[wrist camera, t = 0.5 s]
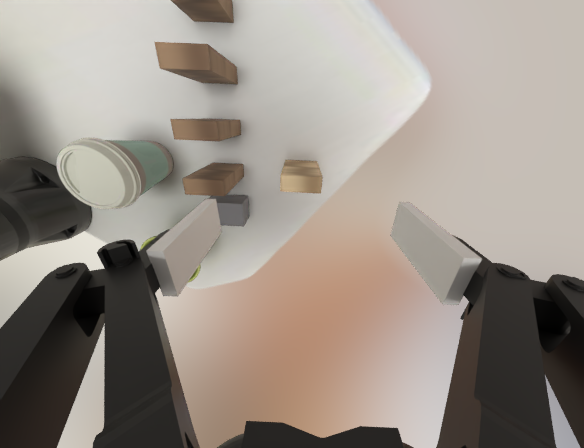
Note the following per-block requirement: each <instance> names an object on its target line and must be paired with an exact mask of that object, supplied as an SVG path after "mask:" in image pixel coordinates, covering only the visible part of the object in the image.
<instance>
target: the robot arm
mask: <svg viewBox="0 0 584 448" xmlns="http://www.w3.org/2000/svg"><path fill="white" fill-rule="evenodd" d="M90 221H91V209H90V206H89V205H87V204H85V203H83V202H82V201H80V200H79V199H77V198H76V197H75V196H74V195H72V194H71V193H70V192H69V191H68V189H67V188H66V187H65V186H64V184H63V183H62V181H61V179H60V177H59V174H58V171H57V168H56V167H55V166H53V165H51V164H49V163H47V162H44V161H42V160H39V159H35V158H30V157H17V158H10V159H4V160H0V261H1V260H3V259H5V258H7V257H9V256H11V255H13V254H15V253H17V252H19V251H21V250H24V249H26V248H28V247H34V246H38V245H43V244H48V243H52V242H57V241H62V240H66V239H69V238H72V237H74V236H75V235H78V234H79V233H81V232H83V231H85V230H86V229H87V227H88V226H89V224H90ZM221 232H222V231H221V225H220V219H219V214H218V208H217V202H216V199H205V200H204V201H203V202H201V203H200V204H199V205H198V206H197V207H196V208H195V209H193V210H192V211H191V212H190V213H189V214H188V215H187V216H185V217H184V218H183V219H182V220H181V221H180V222H179V223H177V224H176V225H175V226H174V227H173V228H172V229H168V230H166V231H164V232H162V233H160V234H159V235H158V236H157V237H156V238H154V239H153V240H152V241H151V242H150V243H149V244H147V245H146V246H145V247H144V248H142V249H141V250H140V251H139V252H138V249H137V247H136V244H135V242H134V241H132V240H120V241H115V242H112V243H109V244H107V245H105V246H103V247H102V248H100V249H99V250H98V252H97V254H98V256H99V258H100V260H101V262H102V264H103V265H104V268H105V269H100V270H94V271H89V269H88V267H87V265H85V264H84V263H73V264H69V265H64V266H62V267H59V268H57V269H56V270H54V271H52V272H50V273H49V274H48V275H47V276H45V277H44V279H43V280H42V281H41V282H40V283H39V285H38V286H37V287H36V288H35V289H34V290H33V292H32V293H31V294H30V295H29V296H28V297H27V298H26V300H25V301H24V302H23V303H22V304H21V305H20V307H19V308H18V309H17V310H16V311H15V312H14V314H13V315H12V316H11V317H10V318H9V319H8V320H7V321H6V323H5V324H4V325H3V326H2V327H1V329H0V448H57V445H58V442H59V440H60V437H61V435H62V432H63V430H64V427H65V424H66V422H67V419H68V416H69V414H70V411H71V408H72V406H73V403H74V401H75V398H76V396H77V393H78V391H79V388H80V385H81V383H82V380H83V378H84V375H85V372H86V370H87V367H88V365H89V362H90V359H91V357H92V354H93V352H94V349H95V346H96V344H97V341H98V339H99V336H100V333H101V330H102V328H103V325H104V323H105V391H104V400H105V402H104V406H105V407H104V429H103V431H102V432H101V433H99V434H98V435H96V437H95V440H94V442H93V448H200V447H199V444H198V441H197V438H196V435H195V432H194V429H193V425H192V422H191V418H190V414H189V411H188V407H187V404H186V400H185V397H184V393H183V390H182V386H181V383H180V379H179V376H178V372H177V368H176V365H175V361H174V357H173V354H172V351H171V347H170V343H169V340H168V336H167V333H166V329H165V326H164V322H163V318H162V315H161V311H160V308H159V304H158V301H157V298H156V295H155V292H156V291H157V290H158V289H159V288H160V289H161V292H162V294H163V296H179V294H180V293H181V291H182V290H183V288H184V287H185V285H186V284H187V282H188V281H189V279H190V278H191V277H192V275H193V274H194V272H195V271H196V269H197V268H198V266H199V265H200V263H201V262H202V260H203V259H204V257H205V256H206V254H207V253H208V251H209V250H210V249H211V247H212V246H213V244H214V243H215V241H216V240H217V238H218V237H219V235H220V234H221ZM391 237H392V238H393V239H394V241H395V242H396V244H397V245H398V246H399V247H400V249H401V250H402V252H403V253H404V254H405V256H406V257H407V258H408V259H409V261H410V262H411V263H412V265H413V266H414V267H415V269H416V270H417V271H418V272H419V274H420V275H421V277H422V278H423V279H424V281H425V282H426V283H427V285H428V286H429V287H430V289H431V290H432V291H433V292H434V294H435V295H436V296H437V298H438V299H439V300H440V302H441V303H442V304H447V305H459V303H460V301H461V299H462V297H463V295H464V296H465V297H466V298H467V299H468V301H469V303H468V305H467V307H466V309H465V311H464V312H463V314H462V316H461V319H462V320H463V319H464V320H463V325H462V330H461V335H460V340H459V345H458V349H457V354H456V359H455V364H454V369H453V373H452V378H451V383H450V388H449V393H448V398H447V402H446V407H445V413H444V417H443V422H442V427H441V432H440V437H439V441H438V444H437V447H436V448H556V444H555V440H554V432H553V426H552V420H551V413H550V407H549V399H548V393H547V386H546V380H545V375H546V377H547V379H548V381H549V383H550V385H551V388H552V390H553V391H554V394H555V396H556V398H557V400H558V402H559V404H560V406H561V408H562V410H563V412H564V414H565V416H566V418H567V420H568V422H569V425H570V427H571V429H572V431H573V433H574V435H575V437H576V439H577V441H578V443H579V445H580V447H581V448H584V281H583V280H579V279H578V278H575V277H569V276H565V275H559V274H557V275H552V276H551V277H550V279H549V280H548V281H547V283H544V282H539V281H534V280H530V278H529V277H528V276H527V275H526V274H525V273H523V272H522V271H520V270H518V269H516V268H514V267H511V266H508V265H505V264H500V263H492V262H491V261H489V260H488V259H487V258H485V257H484V256H483V255H481V254H480V253H479V252H478V251H476V250H475V249H473V248H472V247H471V246H469V245H468V244H467V243H466V242H464V241H463V240H462V239H460V238H458V237H455V236H453V235H451V234H450V233H449V232H447V231H446V230H445V229H443V228H442V227H441V226H440V225H438V224H437V223H436V222H435V221H433V220H432V219H431V218H429V217H428V216H427V215H425V214H424V213H423V212H422V211H420V210H419V209H418V208H417V207H415V206H414V205H413V204H411V203H410V202H399V204H398V208H397V212H396V216H395V220H394V224H393V228H392V232H391ZM217 448H413V447H411V446H409V445H407V444H405V443H403V442H402V440H401V437H400V434H399V431H398V428H384V427H362V426H360V427H357V428H354V429H351V430H348V431H345V432H341V433H338V434H335V435H332V436H329V437H326V438H320V437H317V436H314V435H312V434H309V433H307V432H304V431H302V430H299V429H297V428H295V427H292V426H289V425H287V424H285V423H277V422H256V421H246V426H245V431H244V434H241V435H238V436H236V437H234V438H232V439H229V440H228V441H226V442H225V443H223V444H222V445H220V446H219V447H217Z"/></svg>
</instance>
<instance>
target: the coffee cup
mask: <svg viewBox="0 0 584 448" xmlns="http://www.w3.org/2000/svg"><path fill="white" fill-rule="evenodd" d="M56 166H57V171H58V174H59V177H60V179H61V181H62V183H63V184H64V186H65V187H66V188H67V189H68V191H69V192H70V193H71V194H72V195H74V196H75V197H76V198H77V199H79V200H80V201H82V202H83V203H85V204H87V205H89V206H92V207H95V208H99V209H118V208H123V207H127V206H129V205H131V204H133V203H134V202H135V201H136V200H137V199H138V197H139V196H140V195H141V194H143V193H144V192H146V191H147V190H148V189H150V188H151V187H153V186H154V185H156V184H157V183H158V182H160V181H161V180H163V179H164V178H165V177H167V176H168V175H169V174H170V173H171V172H172V170H173V160H172V157H171V155H170V153H169V152H168V150H167V149H166V148H165V147H163V146H162V145H161V144H159V143H156V142H152V141H110V140H101V139H97V138H83V139H80V140H77V141H74V142H72V143H71V144H69V145H68V146H67V147H65V148H64V149H62V150H61V151H60V153H59V154H58V157H57V162H56Z"/></svg>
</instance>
